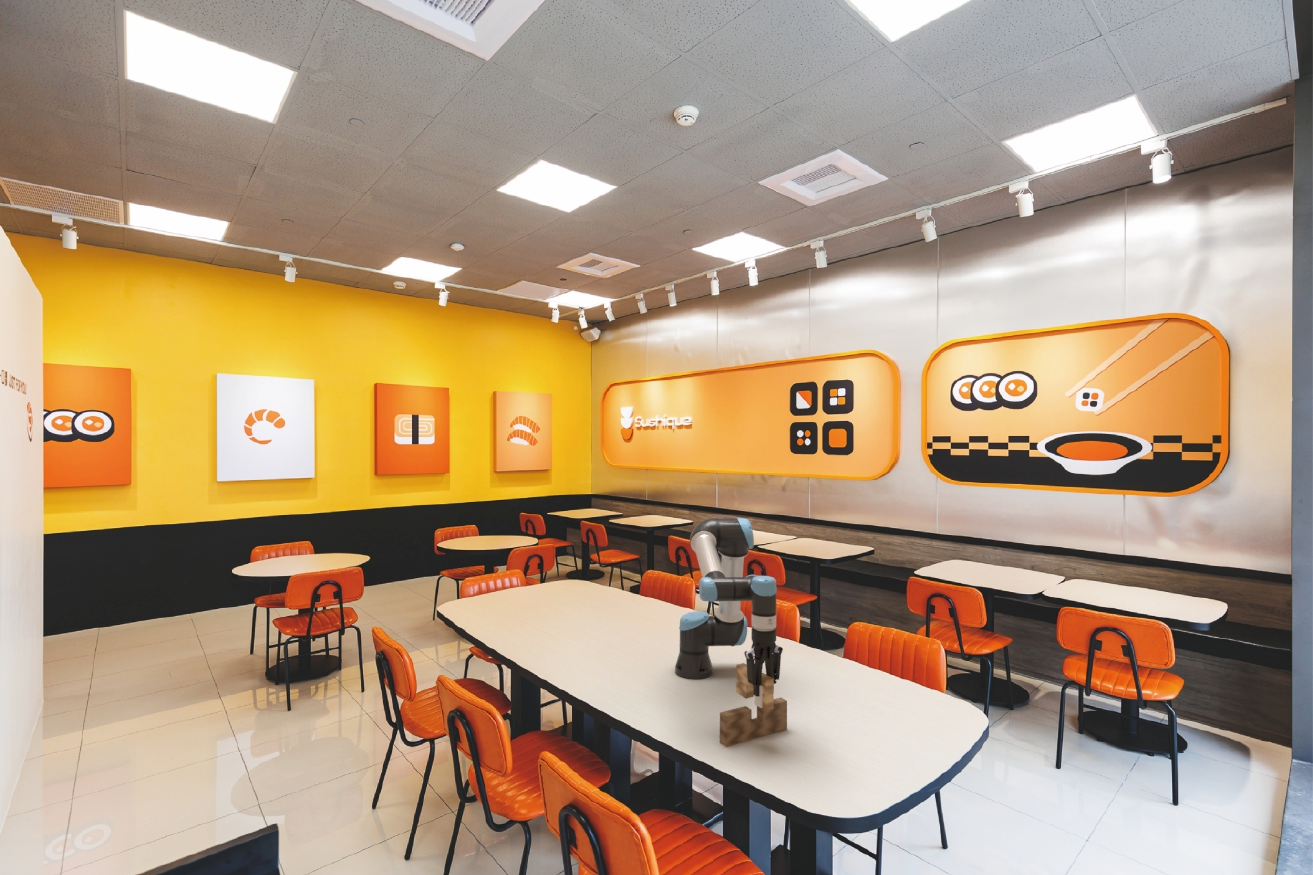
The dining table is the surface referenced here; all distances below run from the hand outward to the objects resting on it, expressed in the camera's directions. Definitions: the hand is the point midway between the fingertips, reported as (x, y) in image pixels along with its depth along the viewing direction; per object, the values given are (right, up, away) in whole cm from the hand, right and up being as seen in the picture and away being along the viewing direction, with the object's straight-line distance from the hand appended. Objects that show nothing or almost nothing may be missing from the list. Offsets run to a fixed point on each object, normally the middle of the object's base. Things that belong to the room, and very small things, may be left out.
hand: (763, 704), depth 185 cm
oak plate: (-2, 0, +4) cm, 5 cm away
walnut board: (-2, -11, +4) cm, 12 cm away
